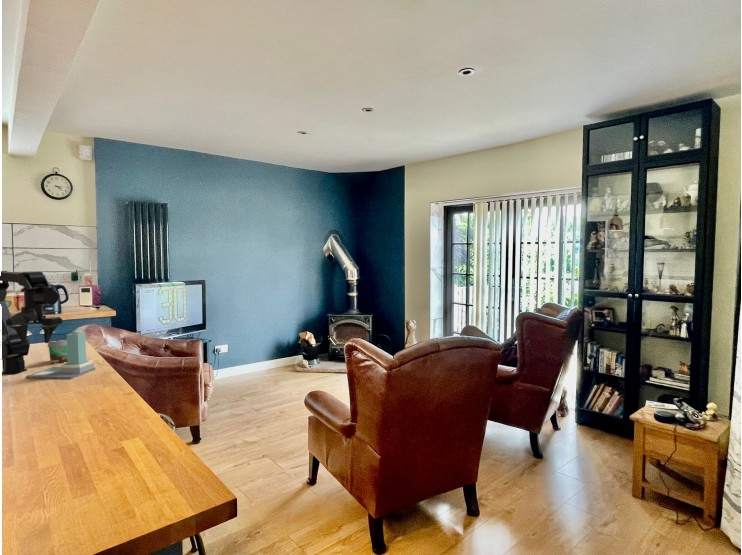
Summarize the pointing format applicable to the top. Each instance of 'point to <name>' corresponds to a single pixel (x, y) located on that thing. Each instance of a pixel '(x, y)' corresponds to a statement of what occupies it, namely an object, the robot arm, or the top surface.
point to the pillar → (76, 348)
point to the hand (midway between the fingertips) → (35, 343)
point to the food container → (58, 351)
